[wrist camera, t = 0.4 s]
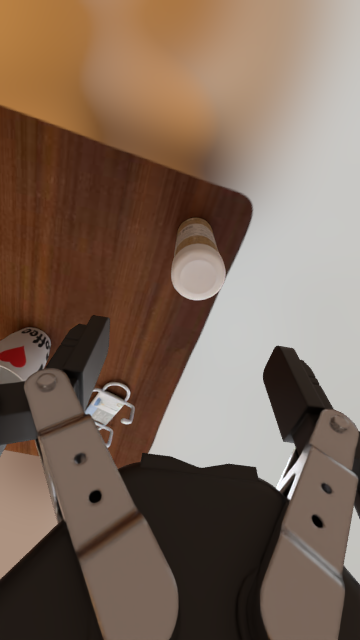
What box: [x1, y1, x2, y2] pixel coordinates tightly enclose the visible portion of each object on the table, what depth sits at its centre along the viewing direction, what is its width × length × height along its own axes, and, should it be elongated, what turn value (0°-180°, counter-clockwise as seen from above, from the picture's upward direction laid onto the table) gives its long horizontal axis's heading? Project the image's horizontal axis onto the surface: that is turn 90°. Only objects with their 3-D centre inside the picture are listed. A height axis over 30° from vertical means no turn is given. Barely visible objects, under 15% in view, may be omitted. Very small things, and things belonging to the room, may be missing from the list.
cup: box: [0, 327, 51, 384], centre depth 38 cm, size 8×8×10 cm
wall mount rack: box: [85, 382, 135, 447], centre depth 47 cm, size 16×14×6 cm
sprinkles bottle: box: [171, 218, 226, 300], centre depth 27 cm, size 5×5×13 cm
